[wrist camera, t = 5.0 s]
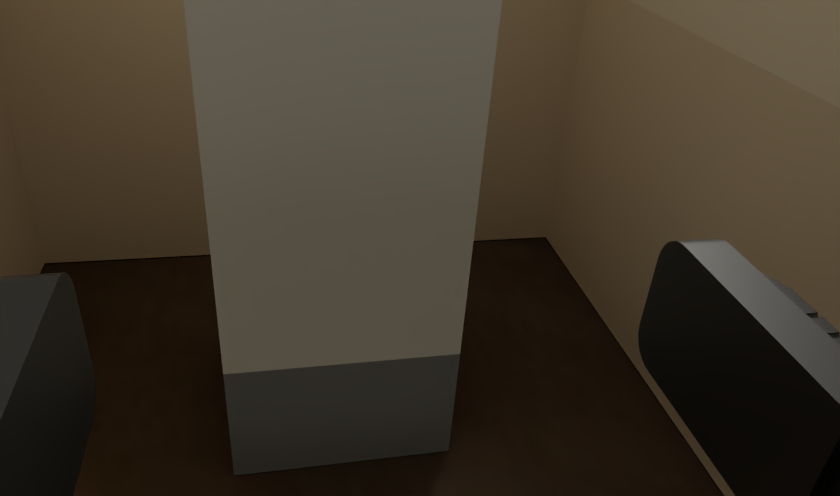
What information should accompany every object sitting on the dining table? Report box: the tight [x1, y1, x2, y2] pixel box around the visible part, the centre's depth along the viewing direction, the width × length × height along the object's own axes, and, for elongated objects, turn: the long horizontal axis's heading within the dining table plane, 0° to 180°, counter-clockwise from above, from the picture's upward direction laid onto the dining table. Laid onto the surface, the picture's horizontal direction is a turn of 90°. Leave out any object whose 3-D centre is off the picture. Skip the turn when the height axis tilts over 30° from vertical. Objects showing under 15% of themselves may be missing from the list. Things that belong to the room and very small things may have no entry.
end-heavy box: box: [183, 0, 502, 475], centre depth 15 cm, size 5×5×12 cm
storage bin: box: [0, 0, 840, 496], centre depth 15 cm, size 18×15×13 cm
